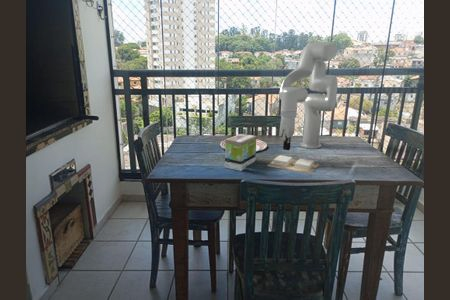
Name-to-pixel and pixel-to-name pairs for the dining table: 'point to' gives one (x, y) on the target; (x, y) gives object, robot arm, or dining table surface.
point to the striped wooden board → (291, 167)
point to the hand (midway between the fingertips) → (286, 149)
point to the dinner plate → (258, 145)
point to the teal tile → (304, 164)
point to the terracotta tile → (282, 160)
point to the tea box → (240, 151)
